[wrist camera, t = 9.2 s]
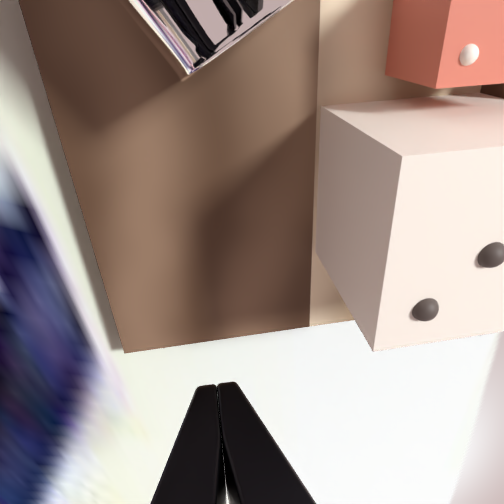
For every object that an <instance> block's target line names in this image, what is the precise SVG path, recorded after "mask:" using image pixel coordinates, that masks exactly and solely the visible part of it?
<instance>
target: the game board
mask: <svg viewBox="0 0 504 504" xmlns="http://www.w3.org/2000/svg"><path fill="white" fill-rule="evenodd" d="M19 4H20V7H21V10H22V14H23V17H24V20H25V24H26V27H27V30H28V34H29V37H30V40H31V44H32V47H33V50H34V54H35V57H36V60H37V64H38V67H39V70H40V74H41V77H42V80H43V84H44V87H45V90H46V94H47V97H48V100H49V104H50V107H51V110H52V114H53V117H54V120H55V124H56V127H57V130H58V134H59V137H60V140H61V144H62V147H63V150H64V154H65V157H66V160H67V163H68V167H69V170H70V173H71V177H72V180H73V183H74V187H75V190H76V193H77V197H78V200H79V203H80V207H81V210H82V213H83V217H84V220H85V223H86V227H87V230H88V233H89V237H90V240H91V243H92V247H93V250H94V253H95V257H96V260H97V263H98V267H99V270H100V273H101V277H102V280H103V283H104V287H105V290H106V293H107V297H108V300H109V303H110V307H111V310H112V313H113V317H114V320H115V323H116V327H117V330H118V333H119V337H120V340H121V343H122V347H123V350H124V353H131V352H137V351H144V350H151V349H158V348H165V347H172V346H179V345H185V344H192V343H199V342H206V341H213V340H220V339H227V338H234V337H240V336H247V335H254V334H261V333H268V332H275V331H282V330H288V329H295V328H302V327H309V326H316V325H323V324H330V323H336V322H343V321H350V320H354V318H353V316H352V314H351V313H350V311H349V309H348V307H347V306H346V304H345V302H344V301H343V299H342V297H341V295H340V294H339V292H338V290H337V288H336V287H335V285H334V283H333V281H332V280H331V278H330V276H329V275H328V273H327V271H326V269H325V268H324V266H323V264H322V262H321V261H320V259H319V257H318V255H317V254H316V252H315V245H316V219H317V193H318V167H319V141H320V115H321V106H325V105H336V104H348V103H360V102H372V101H383V100H395V99H407V98H419V97H431V96H442V95H454V94H466V93H478V92H479V93H483V94H487V95H491V96H495V97H499V98H503V99H504V83H501V84H488V85H476V86H464V87H452V88H440V89H434V88H431V87H427V86H423V85H420V84H416V83H412V82H409V81H405V80H401V79H398V78H394V77H390V76H387V75H385V69H386V60H387V51H388V43H389V34H390V25H391V16H392V8H393V0H294V1H293V2H292V3H290V4H289V5H288V6H286V7H285V8H284V9H282V10H281V11H280V12H278V13H277V14H276V15H274V16H273V17H271V18H270V19H269V20H267V21H266V22H265V23H263V24H262V25H261V26H259V27H258V28H257V29H255V30H254V31H253V32H251V33H250V34H249V35H247V36H246V37H245V38H243V39H242V40H241V41H239V42H238V43H236V44H235V45H234V46H232V47H231V48H230V49H228V50H227V51H226V52H224V53H223V54H222V55H220V56H219V57H218V58H216V59H215V60H214V61H212V62H211V63H209V64H208V65H207V66H205V67H204V68H203V69H201V70H200V71H199V72H197V73H196V74H195V75H193V76H192V77H190V78H189V79H188V80H186V81H185V82H181V81H180V79H179V77H178V76H177V74H176V73H175V72H174V70H173V69H172V67H171V66H170V65H169V64H168V62H167V61H166V60H165V59H164V57H163V56H162V55H161V53H160V52H159V51H158V50H157V48H156V47H155V46H154V45H153V44H152V42H151V41H150V40H149V39H148V37H147V36H146V35H145V34H144V32H143V31H142V30H141V29H140V27H139V26H138V25H137V24H136V22H135V21H134V20H133V18H132V17H131V16H130V15H129V13H128V12H127V11H126V9H125V8H124V7H123V6H122V4H121V3H120V2H119V0H19Z"/></svg>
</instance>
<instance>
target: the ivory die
mask: <svg viewBox="0 0 504 504" xmlns="http://www.w3.org/2000/svg"><path fill="white" fill-rule="evenodd" d="M315 252H316V254H317V255H318V257H319V259H320V261H321V262H322V264H323V266H324V268H325V269H326V271H327V273H328V275H329V276H330V278H331V280H332V281H333V283H334V285H335V287H336V288H337V290H338V292H339V294H340V295H341V297H342V299H343V301H344V302H345V304H346V306H347V307H348V309H349V311H350V313H351V314H352V316H353V318H354V320H355V321H356V323H357V325H358V327H359V328H360V330H361V332H362V333H363V335H364V337H365V339H366V340H367V342H368V344H369V346H370V347H371V349H372V351H373V352H375V351H381V350H387V349H394V348H400V347H407V346H413V345H420V344H426V343H432V342H439V341H445V340H452V339H458V338H465V337H471V336H477V335H484V334H490V333H497V332H503V331H504V99H503V98H499V97H495V96H491V95H487V94H483V93H479V92H478V93H466V94H454V95H442V96H431V97H419V98H407V99H395V100H383V101H372V102H360V103H348V104H336V105H325V106H321V115H320V141H319V167H318V193H317V219H316V245H315Z"/></svg>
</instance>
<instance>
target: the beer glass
mask: <svg viewBox="0 0 504 504" xmlns="http://www.w3.org/2000/svg"><path fill="white" fill-rule="evenodd" d="M293 1H294V0H119V2H120V3H121V4H122V6H123V7H124V8H125V9H126V11H127V12H128V13H129V15H130V16H131V17H132V18H133V20H134V21H135V22H136V24H137V25H138V26H139V27H140V29H141V30H142V31H143V32H144V34H145V35H146V36H147V37H148V39H149V40H150V41H151V42H152V44H153V45H154V46H155V47H156V48H157V50H158V51H159V52H160V53H161V55H162V56H163V57H164V59H165V60H166V61H167V62H168V64H169V65H170V66H171V67H172V69H173V70H174V72H175V73H176V74H177V76H178V77H179V79H180V81H181V82H185V81H186V80H188V79H189V78H190V77H192V76H193V75H195V74H196V73H197V72H199V71H200V70H201V69H203V68H204V67H205V66H207V65H208V64H209V63H211V62H212V61H214V60H215V59H216V58H218V57H219V56H220V55H222V54H223V53H224V52H226V51H227V50H228V49H230V48H231V47H232V46H234V45H235V44H236V43H238V42H239V41H241V40H242V39H243V38H245V37H246V36H247V35H249V34H250V33H251V32H253V31H254V30H255V29H257V28H258V27H259V26H261V25H262V24H263V23H265V22H266V21H267V20H269V19H270V18H271V17H273V16H274V15H276V14H277V13H278V12H280V11H281V10H282V9H284V8H285V7H286V6H288V5H289V4H290V3H292V2H293Z"/></svg>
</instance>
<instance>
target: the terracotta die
mask: <svg viewBox="0 0 504 504" xmlns="http://www.w3.org/2000/svg"><path fill="white" fill-rule="evenodd" d="M385 75H387V76H390V77H394V78H398V79H401V80H405V81H409V82H412V83H416V84H420V85H423V86H427V87H431V88H434V89H440V88H452V87H464V86H476V85H488V84H501V83H504V0H393V8H392V16H391V25H390V34H389V43H388V51H387V60H386V69H385Z"/></svg>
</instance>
